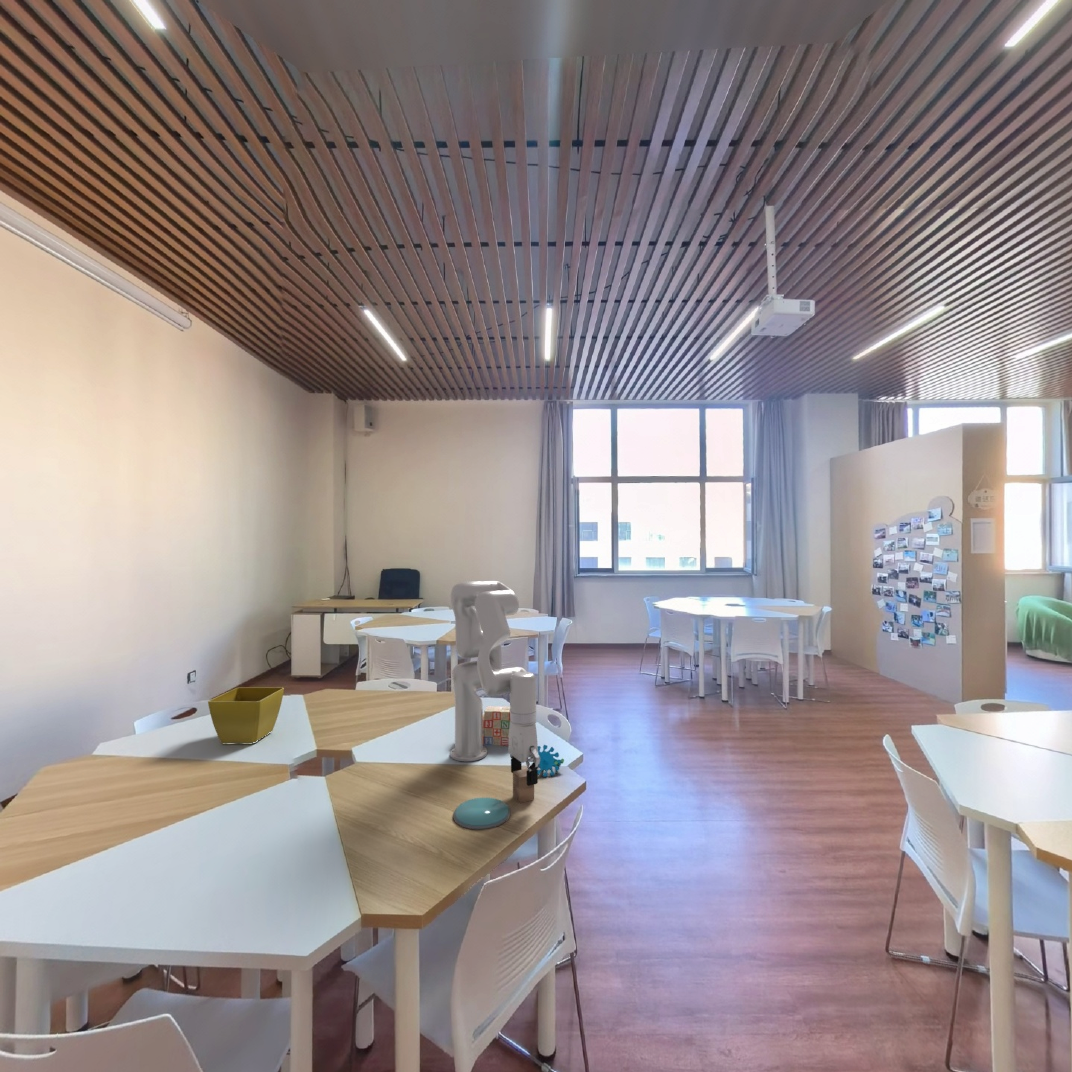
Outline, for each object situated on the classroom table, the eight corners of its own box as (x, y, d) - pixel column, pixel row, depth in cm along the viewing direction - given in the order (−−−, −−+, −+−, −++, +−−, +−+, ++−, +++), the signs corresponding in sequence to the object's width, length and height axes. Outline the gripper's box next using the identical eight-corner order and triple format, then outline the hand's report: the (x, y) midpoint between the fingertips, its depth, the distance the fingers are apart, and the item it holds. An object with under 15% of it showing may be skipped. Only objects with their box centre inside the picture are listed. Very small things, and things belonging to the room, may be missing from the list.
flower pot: (258, 748, 187) (258, 701, 187) (205, 748, 187) (206, 701, 188) (284, 730, 206) (285, 687, 206) (237, 729, 206) (237, 687, 207)
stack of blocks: (459, 744, 190) (459, 710, 190) (463, 738, 196) (462, 705, 196) (517, 746, 188) (517, 711, 188) (519, 739, 194) (519, 706, 194)
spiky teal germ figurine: (529, 773, 160) (530, 742, 168) (526, 781, 164) (527, 750, 172) (564, 777, 161) (564, 745, 169) (561, 784, 165) (560, 753, 173)
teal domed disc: (445, 809, 142) (445, 804, 142) (496, 796, 149) (496, 792, 149) (465, 835, 129) (465, 830, 129) (519, 820, 136) (519, 815, 136)
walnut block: (512, 796, 149) (512, 771, 149) (526, 792, 151) (526, 768, 152) (520, 803, 145) (519, 777, 145) (534, 799, 147) (534, 774, 148)
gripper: (498, 711, 155) (499, 770, 154) (525, 727, 139) (526, 792, 139) (521, 707, 158) (521, 764, 158) (549, 723, 143) (550, 786, 142)
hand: (524, 777), depth 148 cm, fingers open, 9 cm apart
